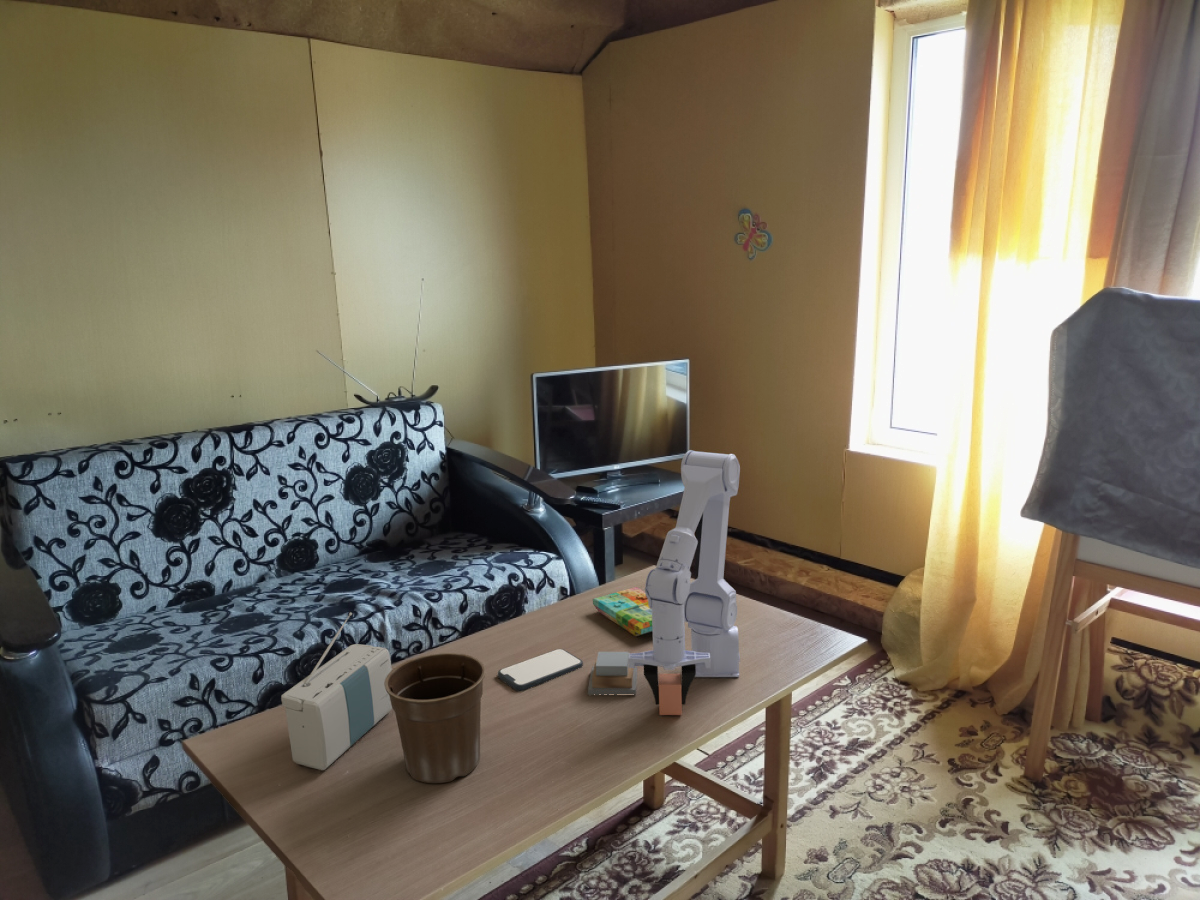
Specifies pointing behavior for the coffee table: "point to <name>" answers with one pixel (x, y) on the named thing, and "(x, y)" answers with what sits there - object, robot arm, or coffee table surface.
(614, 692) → the tower base slab
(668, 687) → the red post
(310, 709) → the stereo radio cassette player
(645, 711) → the coffee table surface
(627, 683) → the tower middle slab
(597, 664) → the tower top slab
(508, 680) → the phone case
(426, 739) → the plant pot
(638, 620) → the puzzle game
